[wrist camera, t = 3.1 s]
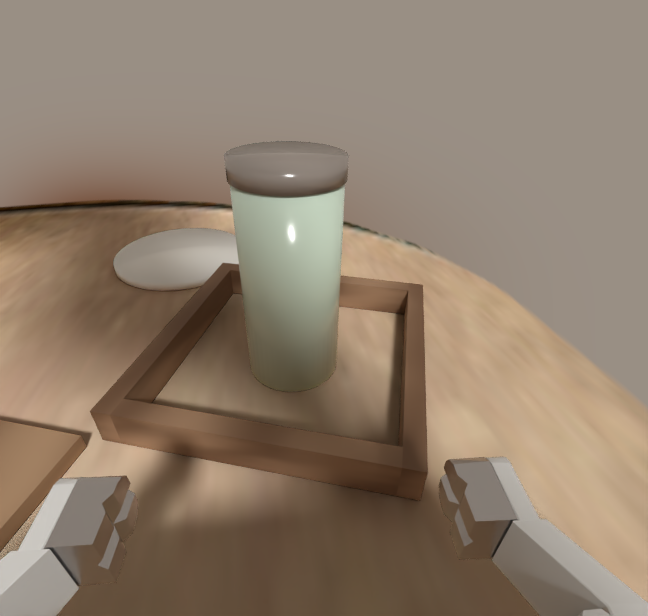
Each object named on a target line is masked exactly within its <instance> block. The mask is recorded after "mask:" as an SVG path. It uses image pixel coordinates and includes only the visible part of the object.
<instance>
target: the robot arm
mask: <svg viewBox="0 0 648 616" xmlns="http://www.w3.org/2000/svg"><path fill="white" fill-rule="evenodd" d="M444 469H445V472H446V474H445V475H444V476H442V477H441V479H440V483H439V498H440V503H441V507H442V510H443V513H444V515H445V516H446V517H447V518H448V519H449V520H450V521H451V522H452V527H451V530H450V535H451V538H452V541H453V544H454V547H455V550H456V553H457V556H458V559H459V560H466V559H492V561H493V563H494V564H495V565H496V566H497V567H498V568H499V569H500V571H501V572H502V573H503V574H504V575H505V576H506V577H507V579H508V580H509V581H510V582H511V583H512V584H513V585H514V587H515V588H516V589H517V590H518V591H519V592H520V593H521V595H522V596H523V597H524V598H525V599H526V600H527V601H528V603H529V604H530V605H531V606H532V607H533V608H534V609H535V611H536V612H537V613H538V614H539V615H540V616H648V603H647V602H646V601H645V600H644V599H643V598H641V597H640V596H639V595H638V594H636V593H635V592H634V591H633V590H632V589H630V588H629V587H628V586H627V585H626V584H624V583H623V582H622V581H621V580H619V579H618V578H617V577H616V576H615V575H613V574H612V573H611V572H610V571H609V570H607V569H606V568H605V567H604V566H603V565H601V564H600V563H599V562H598V561H596V560H595V559H594V558H593V557H592V556H590V555H589V554H588V553H587V552H586V551H584V550H583V549H582V548H581V547H580V546H578V545H577V544H576V543H575V542H573V541H572V540H571V539H570V538H569V537H567V536H566V535H565V534H564V533H563V532H561V531H560V530H559V529H558V528H556V527H555V526H554V525H553V524H552V523H550V522H549V521H548V520H547V519H540V518H539V516H538V514H537V512H536V510H535V508H534V506H533V504H532V503H531V501H530V499H529V497H528V495H527V493H526V491H525V489H524V488H523V486H522V484H521V482H520V480H519V478H518V476H517V474H516V472H515V471H514V469H513V467H512V465H511V463H510V461H509V460H508V459H507V458H506V457H486V458H484V457H478V458H463V459H449V460H447V461H446V463H445V466H444ZM129 486H130V482H129V480H128V478H127V476H108V477H78V478H60V479H59V480H58V481H57V482H56V483H55V484H54V485H53V486H52V488H51V490H50V492H49V494H48V496H47V497H46V499H45V501H44V503H43V505H42V507H41V508H40V510H39V512H38V514H37V516H36V518H35V519H34V521H33V523H32V525H31V527H30V529H29V530H28V532H27V534H26V536H25V538H24V540H23V541H22V543H21V545H20V547H19V549H18V550H15V551H10V552H9V553H8V554H7V555H5V556H4V557H3V558H2V559H1V560H0V616H57V614H58V613H59V612H60V611H61V610H62V608H63V607H64V606H65V605H66V604H67V602H68V601H69V600H70V599H71V598H72V596H73V595H74V594H75V593H76V592H77V590H78V589H79V587H78V586H84V585H95V584H105V583H116V582H117V579H118V576H119V573H120V570H121V567H122V564H123V561H124V558H125V555H126V549H125V546H124V544H123V542H124V541H125V540H126V539H127V538H128V537H129V536H130V535H131V534H132V533H133V531H134V527H135V524H136V521H137V514H138V501H137V497H136V495H135V493H133V492H131V491H130V490H128V489H129Z"/></svg>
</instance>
